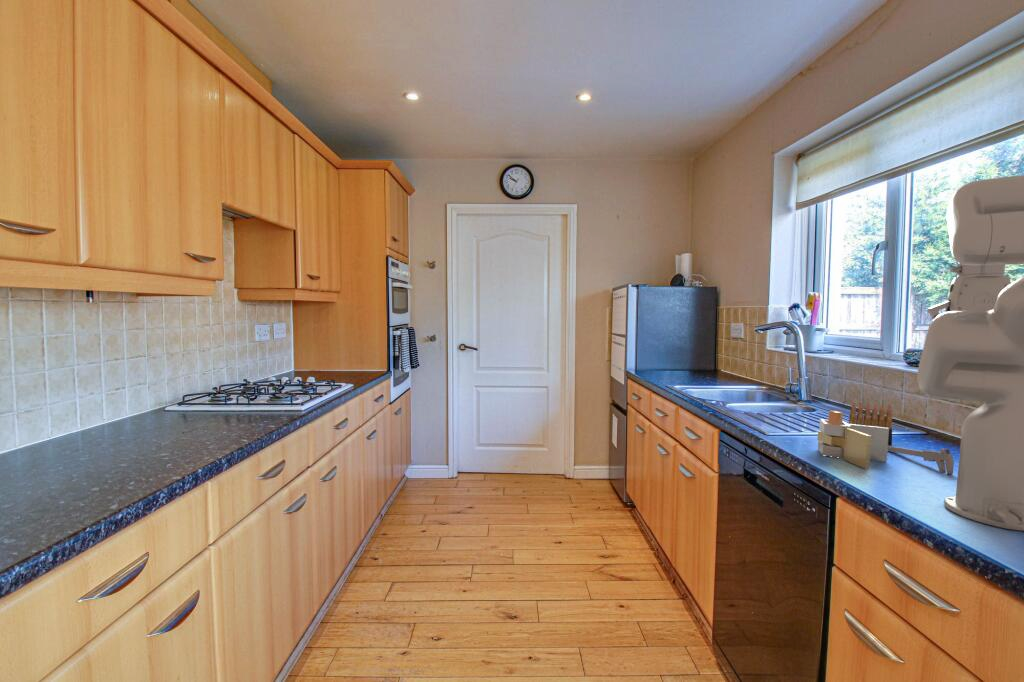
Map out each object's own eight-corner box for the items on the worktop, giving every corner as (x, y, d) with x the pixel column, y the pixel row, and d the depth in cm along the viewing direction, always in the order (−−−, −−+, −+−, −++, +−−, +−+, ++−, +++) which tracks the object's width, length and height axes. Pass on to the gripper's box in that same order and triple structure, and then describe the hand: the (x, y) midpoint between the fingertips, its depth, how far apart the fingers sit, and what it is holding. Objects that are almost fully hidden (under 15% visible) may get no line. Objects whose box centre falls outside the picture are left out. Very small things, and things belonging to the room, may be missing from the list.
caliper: (953, 476, 105) (955, 451, 105) (948, 475, 105) (950, 450, 105) (883, 449, 125) (885, 427, 125) (879, 448, 125) (881, 427, 125)
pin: (840, 457, 117) (844, 413, 116) (827, 455, 118) (830, 412, 117) (838, 454, 119) (841, 411, 118) (824, 452, 121) (827, 410, 120)
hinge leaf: (877, 469, 107) (879, 436, 107) (856, 468, 107) (858, 435, 107) (835, 450, 121) (837, 421, 121) (816, 450, 121) (818, 421, 121)
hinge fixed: (889, 465, 111) (892, 430, 110) (822, 456, 117) (824, 423, 117) (881, 458, 116) (884, 425, 116) (817, 450, 122) (820, 418, 122)
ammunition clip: (889, 443, 130) (892, 404, 129) (891, 445, 128) (895, 406, 127) (846, 439, 134) (849, 401, 133) (848, 440, 132) (851, 402, 131)
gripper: (939, 270, 101) (933, 343, 102) (1043, 269, 94) (1035, 346, 95) (925, 273, 108) (919, 341, 109) (1021, 272, 101) (1014, 344, 102)
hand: (973, 343), depth 102 cm, fingers open, 9 cm apart
